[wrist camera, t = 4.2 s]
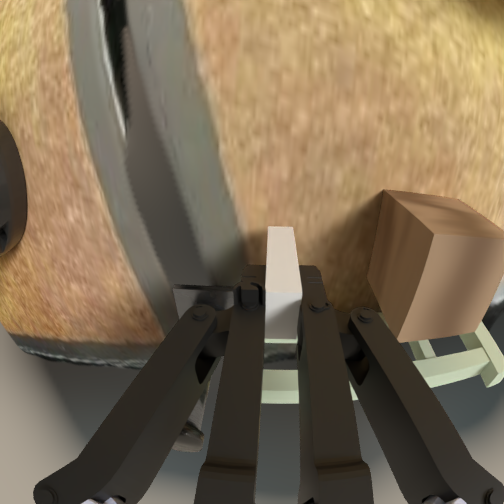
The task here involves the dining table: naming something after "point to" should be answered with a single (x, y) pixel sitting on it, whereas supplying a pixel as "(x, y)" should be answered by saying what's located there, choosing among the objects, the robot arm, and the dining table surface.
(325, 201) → the dining table surface
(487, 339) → the green fence panel
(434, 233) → the walnut block
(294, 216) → the dining table surface
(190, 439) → the hinge post
